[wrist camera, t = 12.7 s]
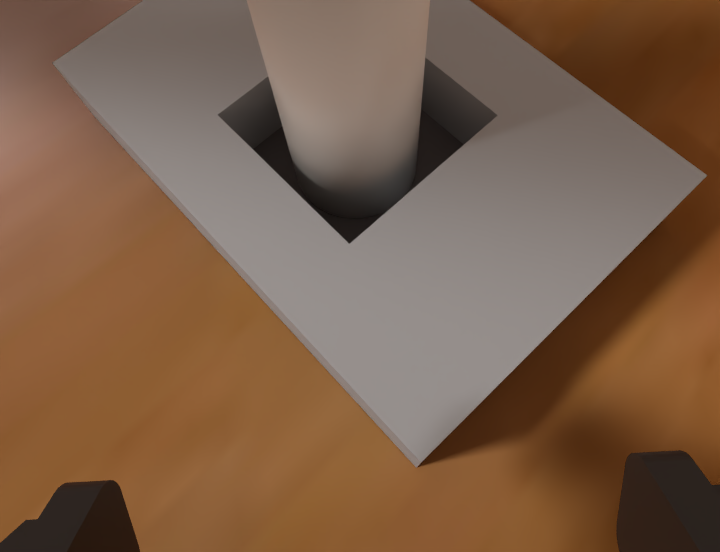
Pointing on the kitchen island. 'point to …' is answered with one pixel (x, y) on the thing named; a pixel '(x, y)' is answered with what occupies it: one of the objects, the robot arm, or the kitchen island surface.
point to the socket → (409, 215)
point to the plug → (347, 95)
